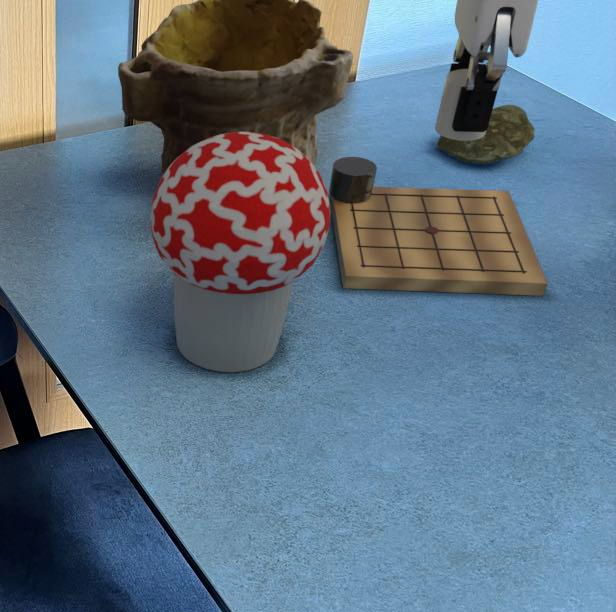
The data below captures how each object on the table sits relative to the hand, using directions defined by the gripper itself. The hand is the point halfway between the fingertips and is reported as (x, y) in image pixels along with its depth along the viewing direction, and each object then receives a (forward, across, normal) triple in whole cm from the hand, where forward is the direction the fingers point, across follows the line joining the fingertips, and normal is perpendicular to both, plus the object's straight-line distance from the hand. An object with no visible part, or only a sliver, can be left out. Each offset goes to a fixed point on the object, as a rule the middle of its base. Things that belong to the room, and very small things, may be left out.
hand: (464, 116), depth 100 cm
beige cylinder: (+1, 0, 0) cm, 1 cm away
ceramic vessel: (+15, +12, +22) cm, 30 cm away
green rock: (+15, +27, -11) cm, 33 cm away
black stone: (+13, +11, +8) cm, 19 cm away
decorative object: (+15, -18, +22) cm, 32 cm away
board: (+15, +3, 0) cm, 15 cm away
